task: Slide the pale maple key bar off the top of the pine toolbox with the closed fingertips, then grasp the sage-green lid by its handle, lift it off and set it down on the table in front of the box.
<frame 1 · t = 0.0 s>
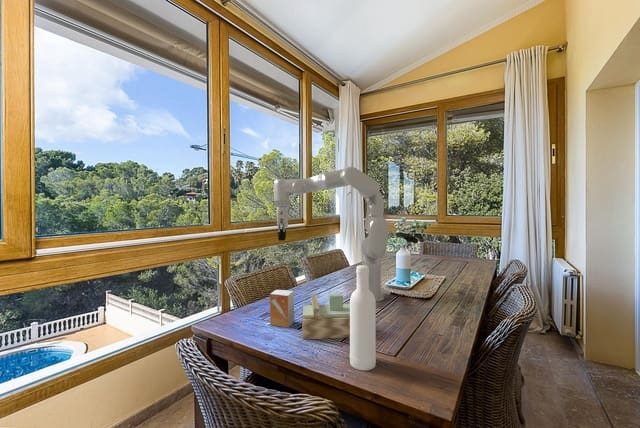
hand: (282, 239, 144), 31 cm above the table, tool pointing down, fingers open, 9 cm apart
toolbox: (328, 330, 112), on the table
bottle: (362, 364, 89), on the table
small box: (282, 324, 119), on the table
lid: (328, 312, 112), point 7 cm above the table, touching toolbox
key: (315, 305, 112), point 10 cm above the table, slide at 0.0 cm
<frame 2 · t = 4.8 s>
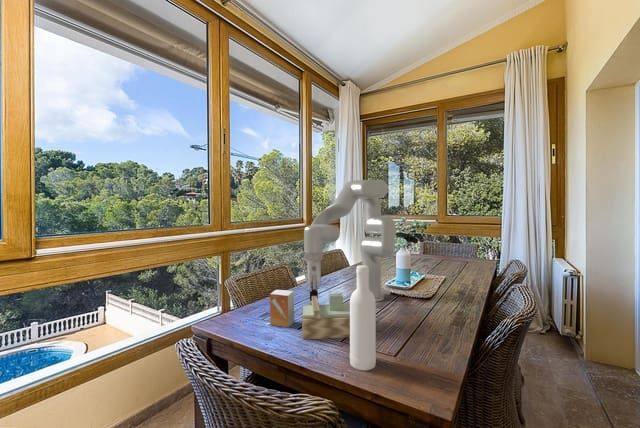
hand: (313, 300, 120), 9 cm above the table, tool pointing down, fingers closed
key: (315, 306, 110), point 10 cm above the table, slide at 1.6 cm, touching gripper
everything else where it was.
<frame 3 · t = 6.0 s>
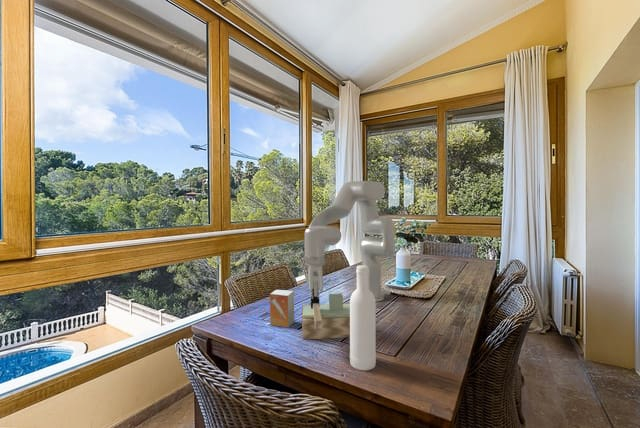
hand: (315, 307, 111), 9 cm above the table, tool pointing down, fingers closed
key: (317, 315, 101), point 10 cm above the table, slide at 10.3 cm, touching gripper
everything else where it was.
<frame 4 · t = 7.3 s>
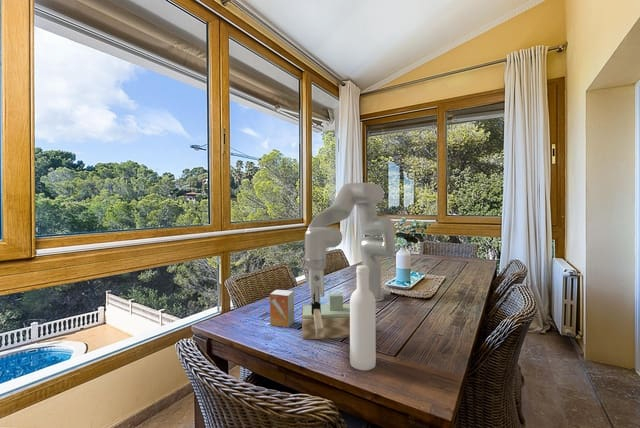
hand: (316, 313, 106), 9 cm above the table, tool pointing down, fingers closed
key: (318, 322, 96), point 10 cm above the table, slide at 16.0 cm, touching gripper
everything else where it was.
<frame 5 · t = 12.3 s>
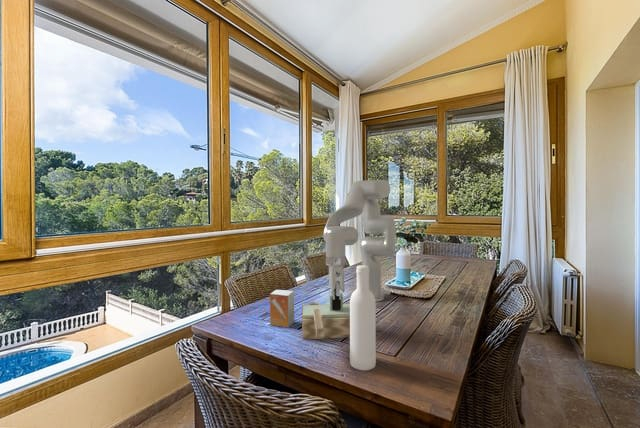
hand: (335, 307, 112), 9 cm above the table, tool pointing down, fingers closed on lid, 2 cm apart
lid: (328, 312, 112), point 7 cm above the table, touching gripper, toolbox
key: (318, 322, 95), point 10 cm above the table, slide at 16.1 cm
everything else where it was.
when the fingers open (4 cm above the table, at t = 19.0 s): lid drops 2 cm, on the table.
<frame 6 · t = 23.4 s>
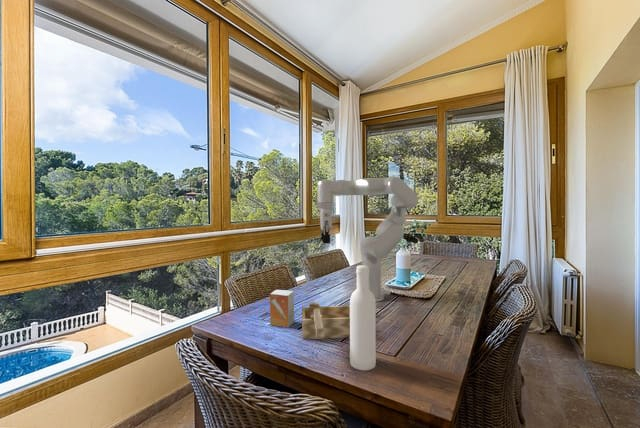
hand: (325, 241, 140), 30 cm above the table, tool pointing down, fingers open, 9 cm apart
lid: (349, 316, 127), on the table
everything else where it was.
at the end: key slide at 16.1 cm; lid inside the target area (0.8 cm from its centre), on the table; lid touching table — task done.
